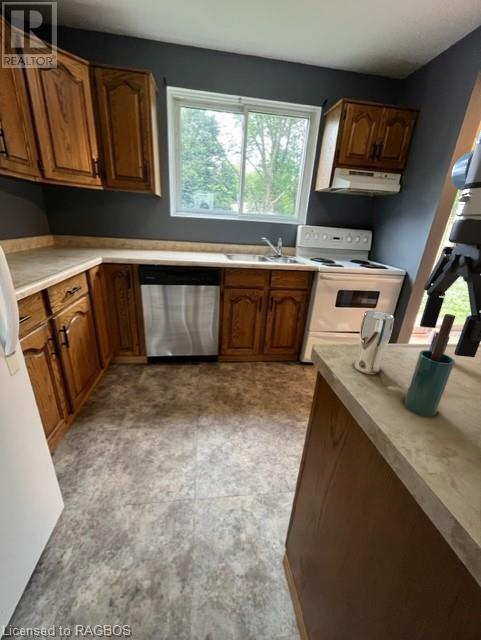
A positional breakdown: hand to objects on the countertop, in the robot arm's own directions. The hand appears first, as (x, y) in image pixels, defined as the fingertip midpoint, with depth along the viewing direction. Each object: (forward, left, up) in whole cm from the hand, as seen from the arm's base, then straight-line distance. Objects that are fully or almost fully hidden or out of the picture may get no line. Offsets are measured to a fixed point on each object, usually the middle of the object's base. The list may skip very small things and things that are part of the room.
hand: (443, 339), depth 51 cm
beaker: (0, 0, -16) cm, 16 cm away
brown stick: (0, 0, -15) cm, 15 cm away
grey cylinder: (-15, -26, -16) cm, 34 cm away
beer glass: (+7, -14, -16) cm, 23 cm away
